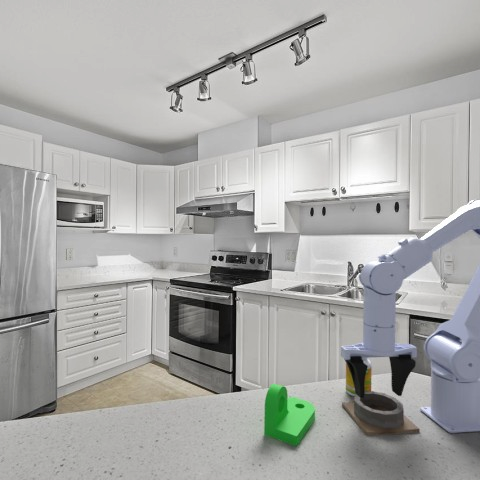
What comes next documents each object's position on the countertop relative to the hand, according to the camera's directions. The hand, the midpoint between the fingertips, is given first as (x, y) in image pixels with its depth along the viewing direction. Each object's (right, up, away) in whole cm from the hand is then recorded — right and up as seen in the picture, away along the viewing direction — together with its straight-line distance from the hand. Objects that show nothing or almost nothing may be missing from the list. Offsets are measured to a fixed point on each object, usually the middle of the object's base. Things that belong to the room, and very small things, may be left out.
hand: (378, 394), depth 61 cm
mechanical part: (-17, -5, -2) cm, 18 cm away
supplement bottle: (0, -5, +10) cm, 11 cm away
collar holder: (0, -5, 0) cm, 5 cm away
